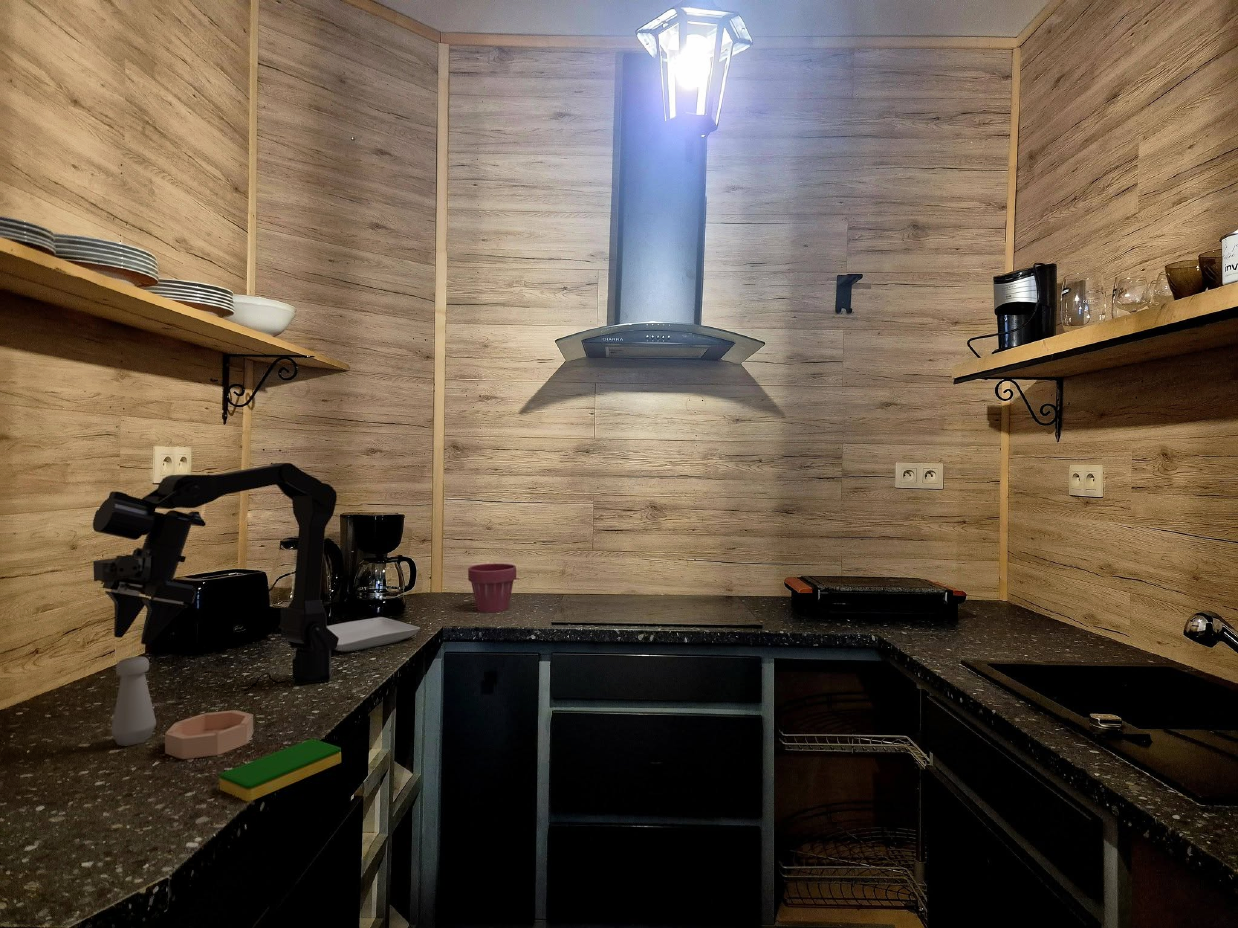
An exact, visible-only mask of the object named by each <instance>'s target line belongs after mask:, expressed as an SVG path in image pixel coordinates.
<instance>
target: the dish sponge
mask: <svg viewBox="0 0 1238 928" xmlns="http://www.w3.org/2000/svg"><path fill="white" fill-rule="evenodd" d="M341 751H342V748H341V747H340V746H337V745H333V744H331V743H328V742H324V741H321V740H318V739H315V738H310V739H307V740H305V741H302V742H300V743H297V744H294V745H292V746H289V747H287V748H285V749H282V750H279V751H276V752H273V753H270V754H268V755H266V756H263V757H261V758H258V759H255V760H253V761H250V762H247V763H244V764H243V765H242V764H241V765H239V766H237V767H234V768H231V769H229V770H225V771H224V772H221V773H219V778H220V779H219V790H220V791H222V792H225V793H227V794H229V795H231V794H232V795H231V796H234V795H235V796H234V797H236V798H238V797H239V798H238V799H240V798H241V799H240V800H243V801H245V802H252V801H254V800H256V799H259V798H261V797H264V796H266V795H268V794H271V793H273V792H275V791H276V792H277V791H278V790H280V789H282V788H285V787H287V786H290V785H292V784H294V783H296V782H299V781H301V780H303V779H306V778H308V777H310V776H312V775H316V774H317V773H320V772H322V771H325V770H327V769H329V768H331V767H334V766H336V765H338V764H341V763H342V752H341ZM251 800H252V801H251Z"/></svg>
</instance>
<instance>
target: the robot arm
mask: <svg viewBox="0 0 1238 928" xmlns="http://www.w3.org/2000/svg"><path fill="white" fill-rule="evenodd" d="M270 486H277V487H278V488H279V490H280V491H281V493H283V494H284V496H286V497H287V498H289V499H290V500H291V501H292V513H293V516H294V518H295V520H296V522H297V525H298V535H297V537H298V539H297V548H296V559H295V560H296V561H295V572H294V586H293V596H292V597H293V598H292V600H291V601H290V603H289V604H288V606H287V607H284V606H282V607H280V611H279V612H280V613H279V615H280V620H279V624H278V629H280V630H281V632H280V633H281V636H282V637H283V638H284V639H285V640H286V641H287V642H288V645H289V647H290V649H295V655H294V657H293V659H292V680H294V682H293V685H296V686H297V685H305V684H307V685H308V684H313V683H315V684H316V683H327V682H330V680H331V678H332V676H333V673H334V672H333V669H332V650H335V649H336V647H337V644H338V640H339V638H338V637H337V636H336V635H335V634H334V633H332V632H331V631H330V630H329V629H328V628H327V626H328V625H327V624H328V622H327V613H326V610H325V608H324V605H323V603H322V601H321V585H322V575H323V574H322V573H323V572H322V571H323V559H324V547H325V534H326V527H327V526H328V524H329V522H330V521H331V520H332V517H333V515H334V513H335V509H336V504H337V500H338V493H337V491H336V490H335V489H334V487H333V486H332V485H331V484H329V483H326V482H322V481H320V479H318V478H317V477H314V476H312V475H310V474H308V473H307V472H304V471H303V470H301V469H300V468H298V467H297V466H296V465H294V464H293V463H291V462H275V463H272V464H270V465H265V466H264V465H263V466H258V467H253V468H246V469H241V470H240V469H239V470H234V471H230V472H224V473H216V474H171V475H168V476H165V477H164V478H162V480H161V481H160V482H159V484H158V486H157V488H155V489H154V490H153V491H151V492H149V493H148V494H147V495H145V496H144V497H142V498H140V497H135V496H132V495H129V494H127V493H124V492H122V491H116V490H115V491H110V493H109V495H108V498H106V499H104V500H103V502H102V504H100V506H99V508H98V509H96V511H95V513H94V516H93V521H92V529H93V531H94V532H97V533H101V534H105V535H109V536H113V537H120V538H123V539H129V540H134V541H135V540H138V539H140V538H141V537H142V536H145V539H144V541H143V544H142V547H136V548H135V549H134V550H133V552H132V553H131V554H125V555H117V556H116V557H115V558H113V557H112V558H107V559H106V558H105V559H98V560H93V561H92V563H93V568H92V569H93V581H94V582H98V581H100V582H101V583H103V584H102V586H101V588H102V589H106V590H105V591H104V592H105V594H106V595H107V596H108V597H109V598H110V599H111V601H112V602H113V606H114V621H113V622H114V624H113V627H114V628H113V631H114V633H113V636H114V637H115V638H120V639H121V638H123V637H124V636H125V634H126V633H127V632H128V630H129V629H130V627H132V624H133V623H134V622H135V620H136V618H138V616H139V615H140V613H141V611H142V610H143V609H144V607H145V608H146V615H145V619H144V625H143V629H142V633H141V634H142V635H141V640H140V644H141V645H146V646H147V645H150V644H151V643H152V642H153V641H154V640H155V638H157V637H158V635H159V634H161V632H162V631H163V630H164V629H165V628H166V627H167V626H168V625H169V624H170V623H171V621H172V620H174V619H175V618H176V616H177V615H179V614H180V613H181V612H182V611H183V610H184V609H187V608H188V604H194V602H195V599H196V596H197V593H198V592H197V590H196V587H194V585H191V584H185V583H180V582H179V581H178V580H176V579H174V578H175V575H176V572H177V569H178V566H179V563H185V561H186V559H187V556H185V555H182V554H183V550H184V548H185V545H186V541H187V540H188V537H189V533H190V531H191V527H192V526H194V527H205V526H206V525H207V523H206V522H205V520H204V519H203V518H202V516H201V514H200V512H199V511H193V510H192V511H189V512H187V513H186V512H182V511H178V510H174V509H195V508H198V507H201V506H203V505H206V504H209V503H211V502H214V501H216V500H217V499H219V498H221V497H224V496H227V495H231V494H234V493H235V494H236V493H239V492H244V491H250V490H255V489H261V488H266V487H270ZM156 509H161V510H163V509H164V510H169V511H167V512H166V513H164V512H163V513H162V512H158V511H156ZM108 590H110V591H108ZM141 595H144V596H141ZM152 598H153V599H152ZM184 603H188V604H184Z"/></svg>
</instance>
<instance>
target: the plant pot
mask: <svg viewBox="0 0 1238 928" xmlns="http://www.w3.org/2000/svg"><path fill="white" fill-rule="evenodd" d="M467 573H468V574H467V575H468V577H467V579H468V581H469V582H470V583H471V587H472V593H473V598H474V601H475V606H476V611H478V612H480V613H487V614H491V613H494V614H495V613H501V612H504V611H507V610H509V605H510V602H511V601H510V600H511V597H512V592H513V591H512V590H513V586H514V581H515V580H516V579H517V566H516V565H514V564H509V563H484V564H483V563H481V564H475V565H471V566H469V567H468V569H467Z"/></svg>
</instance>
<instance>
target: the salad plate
mask: <svg viewBox="0 0 1238 928" xmlns="http://www.w3.org/2000/svg"><path fill="white" fill-rule="evenodd" d="M327 628H328V629H329V630H330V631H331V632H332V633H334V634H335V635H336V636H337V637H338V638H339V640H338V644H337V647H336V649H334V650H336V651H337V652H344V653H347V652H348V653H349V652H355V651H360V650H361V651H362V650H364V649H365V650H366V649H369V648H375V647H379V646H385V645H389V644H393V643H398V642H401V641H402V640H405V639H408V638H410V637H412V636H414V635H415V634H416V633H418V631H419V630H420V627H419V626H416V625H413V624H410V623H405V622H403V621H399V620H395V619H393V618H387V617H383V616H380V617H373V618H367V619H365V618H364V619H360V620H353V621H345V622H342V623H341V622H340V623H337V624H331V625H327Z"/></svg>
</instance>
